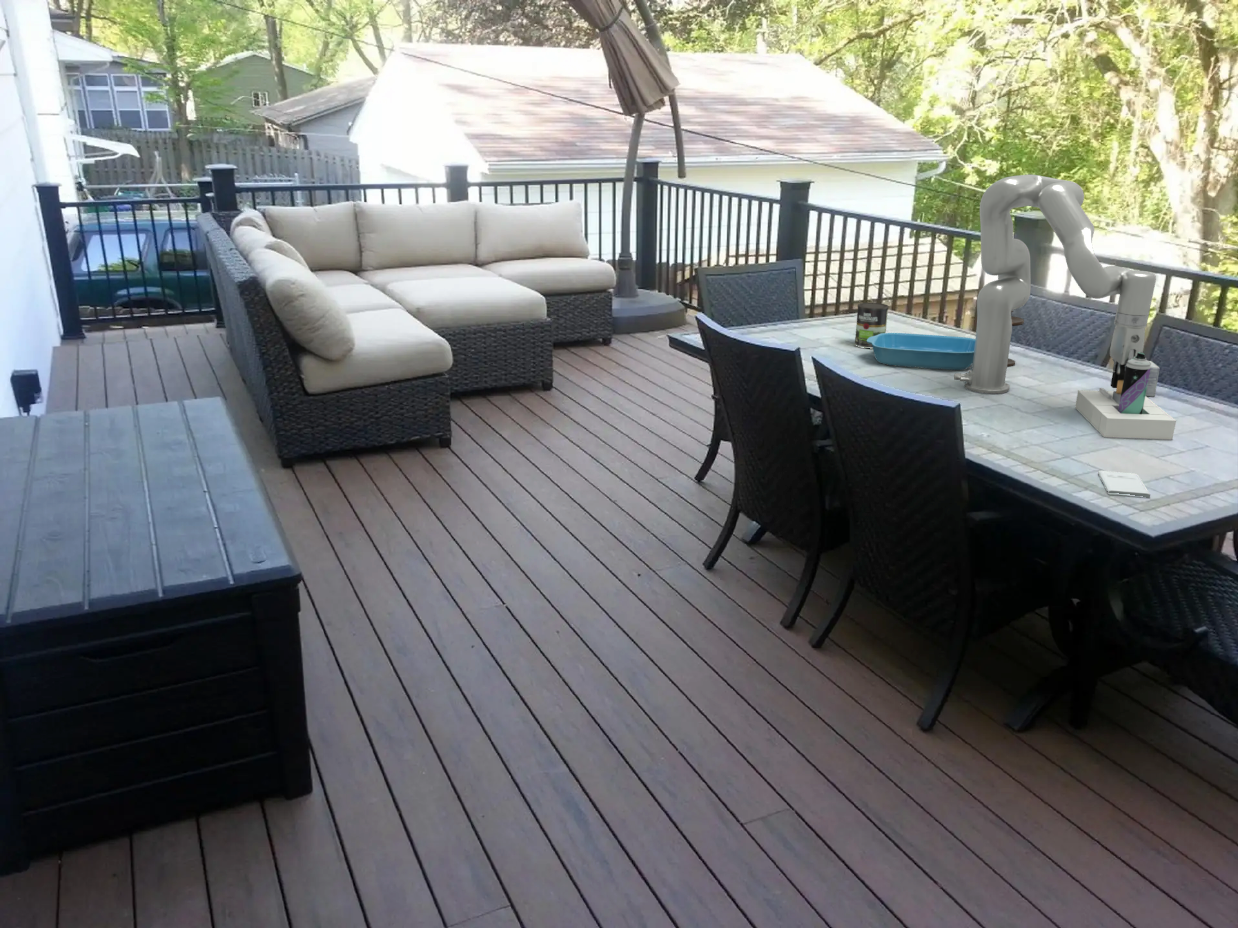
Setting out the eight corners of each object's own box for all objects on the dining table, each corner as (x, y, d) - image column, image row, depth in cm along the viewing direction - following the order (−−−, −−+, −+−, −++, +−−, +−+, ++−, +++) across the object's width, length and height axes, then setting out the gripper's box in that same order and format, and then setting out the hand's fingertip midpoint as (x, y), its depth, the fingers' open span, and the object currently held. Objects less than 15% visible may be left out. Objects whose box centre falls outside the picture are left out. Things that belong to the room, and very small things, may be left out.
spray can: (1110, 425, 250) (1124, 350, 243) (1130, 424, 250) (1144, 349, 243) (1122, 432, 245) (1137, 356, 238) (1143, 431, 245) (1158, 355, 238)
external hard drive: (1107, 497, 207) (1097, 476, 218) (1149, 500, 205) (1137, 479, 216) (1108, 490, 207) (1098, 469, 218) (1150, 493, 204) (1138, 472, 216)
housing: (1104, 437, 241) (1108, 414, 239) (1075, 407, 265) (1078, 386, 262) (1172, 439, 239) (1177, 416, 237) (1137, 409, 262) (1141, 388, 260)
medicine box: (1154, 397, 273) (1160, 367, 270) (1137, 396, 274) (1143, 367, 271) (1146, 389, 280) (1151, 360, 277) (1129, 389, 281) (1135, 360, 278)
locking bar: (1121, 406, 248) (1124, 387, 247) (1112, 398, 255) (1115, 379, 253) (1133, 406, 248) (1137, 387, 246) (1124, 398, 255) (1127, 379, 253)
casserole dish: (860, 366, 309) (862, 344, 307) (870, 350, 329) (871, 329, 326) (982, 376, 297) (985, 353, 294) (984, 359, 316) (987, 337, 313)
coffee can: (878, 350, 327) (882, 309, 322) (849, 346, 332) (852, 306, 327) (889, 344, 335) (893, 304, 330) (861, 341, 340) (864, 301, 335)
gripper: (1157, 326, 242) (1143, 396, 248) (1135, 313, 255) (1122, 380, 262) (1126, 325, 242) (1112, 395, 249) (1105, 312, 256) (1093, 379, 263)
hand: (1117, 387), depth 256 cm, fingers closed
